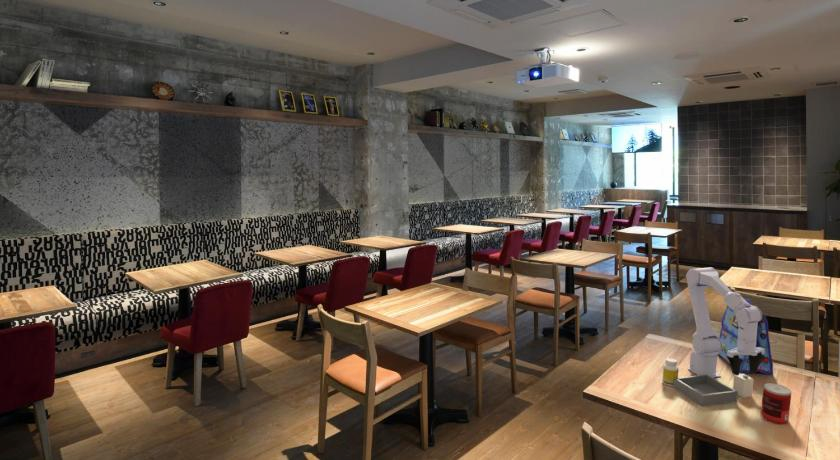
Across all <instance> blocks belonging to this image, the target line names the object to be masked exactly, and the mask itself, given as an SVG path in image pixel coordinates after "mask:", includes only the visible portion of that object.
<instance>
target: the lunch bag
mask: <svg viewBox="0 0 840 460" xmlns="http://www.w3.org/2000/svg"><path fill="white" fill-rule="evenodd" d="M743 299H744V300H746V301H747V302H748V303H749V304H750V305H752V303H751V299H748V298H743ZM765 315H766V314H764V313H763V312H762V319H761V321H759V322H758V325H757V337H756V347H761V348H763V349H765V350H764V354H761V355H764V356H765V359H764V360H763V361H762V362H761V363H760V365H759V367H758V369H757V371H756V372H759V373H762V374H766V375H770V376H772V375H774V369H773V368H774V363H773V362H774V361H773V357H772V352H771V342H770V337H769V323H768V320H767V318H766V316H765ZM737 323H738V321H737V319H736V316H735V312H734V311H733V310H732V309H731V308H730V307H729V306H728V305H727V304H726V308H725V310H724V314H723V316H722V319H721V325H720V326H721V328H720V333H719V338H720V340H721V341H722V344H723V348H722V350H721V351H720V352H719V354H718V355H719V356H720V357H722V359H724V360H725V361H726V362H727V363H729V364H730V362H729V360H728V358H727V351H729V350H732V349H735V348H737V341H738V328H739V326H738V324H737ZM739 357H740V359H742V360H743V362H742V364H741V366H740V372H739V374H746V373H751V372H750V370H749V356H748V355H743V356H739Z"/></svg>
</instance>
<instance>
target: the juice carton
mask: <svg viewBox="0 0 840 460" xmlns="http://www.w3.org/2000/svg"><path fill="white" fill-rule="evenodd" d="M732 389H734V390H736V391H738V393H737V396H739V397H741V398H752V397H753V391H754V390H753V389H754V378H753V377H751V376H749V375H747V374H746V373H744V374H742V373H739V375H735V374H733V385H732Z"/></svg>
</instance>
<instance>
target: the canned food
mask: <svg viewBox="0 0 840 460" xmlns="http://www.w3.org/2000/svg"><path fill="white" fill-rule="evenodd" d="M791 398H792V390H791V389H790V388H788V386H785V385H782V384H778V383H772V382H771V383H765V384H763V388H762V400H761V409H760V410H761V412H760V413H761V416H762V419H764V420H766V421H767V422H770V423H772V424H776V425H786V424H788V422H789V419H790V410H791V400H792V399H791Z"/></svg>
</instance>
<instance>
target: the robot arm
mask: <svg viewBox="0 0 840 460" xmlns="http://www.w3.org/2000/svg"><path fill="white" fill-rule="evenodd" d="M719 274H720V273H719V272H718V271H717V270H716V269H715V268H714V267H711V266H709V267H703V268H702V267H699V268H690V269H689V270H688V271H687V272H686V274H685V279H686V282H687V287H688V292H689V299H690V302H691V307H692V312H693V316H694V321H695V325H696V331H695V332H694V333H693V334H692V349H693V350H692V351H691V353H690V355H689V356H690V359H689V367H688V368H687V370H688V371H691V372H692V373H694V374H696V376H697V375H705V374H707V375H709V376H711V377H712V378H714V379H715V378H720V377H722V375H721V374H719V373H717V361H718V355H719V352H720V351H721V350H722V348H723V344H722V341H721V340H720V338H719V337H720V333H718V332H717V331H716V330H714V329H713V326H712V322H711V318H710V313H709V309H708V308H709V307H708V304H707V303H708V302H707V300H706V295H705V290H706V289H707V288H708V287H711V288H713V289H714V290H715V291H716V292H717V293H718V294H720V295H721V296H722V297H723V298H724V299H723V301H724V303H725V304H726V306H727V305H728V306H729V307H730V308H731V309H732V310H733V311H734V312H735V316H736V319H737V321H738V323H737V324H738V326H739V328H738V341H737V348H735V349H732V350H729V351H727V358H728V360H729V362H730V363H729V364H730V367H731V372H732V374H733V375H739V374H740V366H741V364H742V362H743V360H742V359H740V357H739V356H743V355H748V356H749V370H750V372H749V373H752V374H756V373H757V372H758V371H757V369H758V367H759V365H760V363H761V362H762V361H763V360H764V359H765V356H764V355H761V354H764V350H765V349H763V348H761V347H756V337H757V325H758V322H759V321H761V319H762V313H763V312H762V311H761V309H760V307H758V306H757V305H756V306H755V305H752V304H751V303H750V304H751V305H750V304H749V303H748V302H747V301H746V300H744V299H745V298H744V297H743V296H742V294H740V293H739V292H736V291H732V290H731V288H729V287H728V286H727V285H726V283H725V282H724V281H723V280H722V279H721V278H720V275H719Z"/></svg>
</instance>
